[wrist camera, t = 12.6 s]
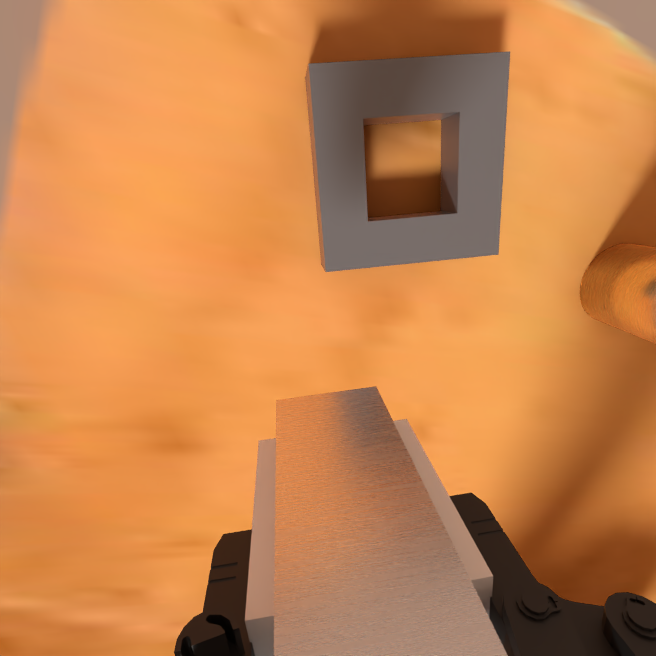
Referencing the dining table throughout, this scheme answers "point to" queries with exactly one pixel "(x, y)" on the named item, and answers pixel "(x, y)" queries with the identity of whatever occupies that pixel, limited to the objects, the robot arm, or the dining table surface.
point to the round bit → (623, 289)
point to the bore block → (456, 155)
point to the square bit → (363, 541)
